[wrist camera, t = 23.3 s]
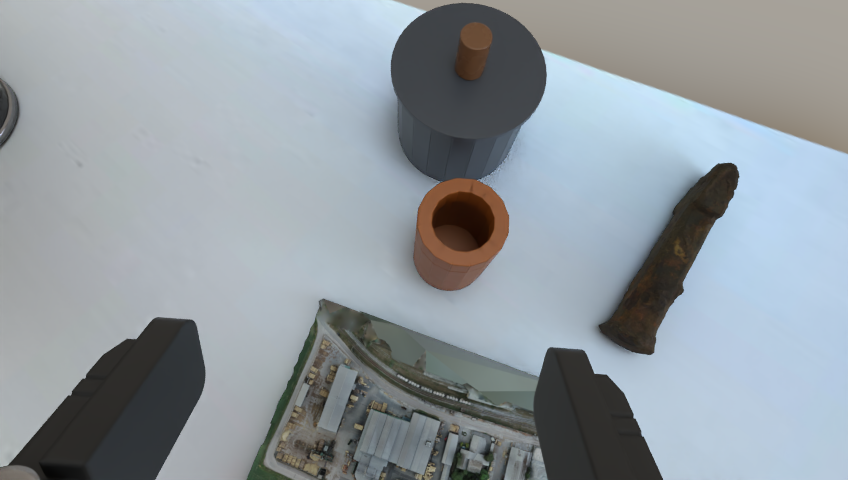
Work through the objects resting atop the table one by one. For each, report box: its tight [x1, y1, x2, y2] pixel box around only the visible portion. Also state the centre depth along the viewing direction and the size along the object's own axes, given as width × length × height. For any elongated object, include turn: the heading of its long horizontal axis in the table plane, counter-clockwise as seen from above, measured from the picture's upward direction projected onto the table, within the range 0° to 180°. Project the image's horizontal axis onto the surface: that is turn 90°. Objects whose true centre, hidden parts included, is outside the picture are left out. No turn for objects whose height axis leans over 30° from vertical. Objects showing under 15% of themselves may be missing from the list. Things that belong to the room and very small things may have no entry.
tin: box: [397, 98, 522, 181], centre depth 40 cm, size 11×11×9 cm
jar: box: [413, 178, 509, 291], centre depth 36 cm, size 6×6×10 cm
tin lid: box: [391, 3, 547, 142], centre depth 34 cm, size 12×12×5 cm
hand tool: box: [599, 163, 739, 355], centre depth 39 cm, size 19×4×5 cm, turn 142°
